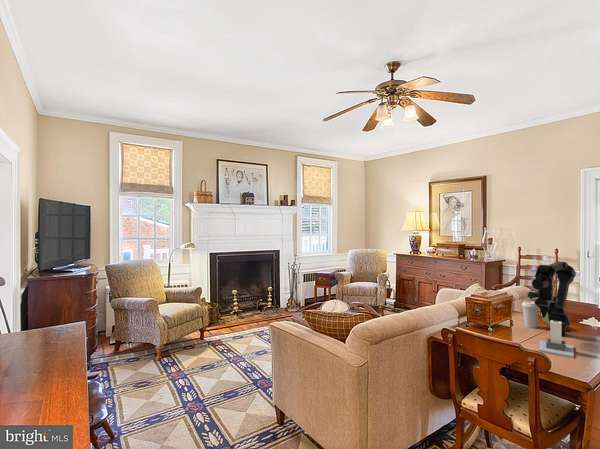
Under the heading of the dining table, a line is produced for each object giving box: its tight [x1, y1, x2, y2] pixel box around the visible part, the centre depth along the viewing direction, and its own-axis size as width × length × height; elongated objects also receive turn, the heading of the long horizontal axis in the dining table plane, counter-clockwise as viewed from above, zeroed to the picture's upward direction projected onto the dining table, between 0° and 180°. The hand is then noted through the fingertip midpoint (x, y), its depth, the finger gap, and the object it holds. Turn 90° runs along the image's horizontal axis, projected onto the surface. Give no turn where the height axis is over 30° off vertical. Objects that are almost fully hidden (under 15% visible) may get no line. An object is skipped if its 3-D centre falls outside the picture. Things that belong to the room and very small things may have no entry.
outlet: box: [537, 337, 575, 359], centre depth 177 cm, size 18×14×4 cm
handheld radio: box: [542, 313, 571, 332], centre depth 217 cm, size 7×3×25 cm
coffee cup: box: [521, 300, 540, 329], centre depth 216 cm, size 10×10×15 cm
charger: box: [549, 320, 563, 344], centre depth 177 cm, size 4×4×13 cm
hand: (546, 315), depth 192 cm, fingers open, 9 cm apart
